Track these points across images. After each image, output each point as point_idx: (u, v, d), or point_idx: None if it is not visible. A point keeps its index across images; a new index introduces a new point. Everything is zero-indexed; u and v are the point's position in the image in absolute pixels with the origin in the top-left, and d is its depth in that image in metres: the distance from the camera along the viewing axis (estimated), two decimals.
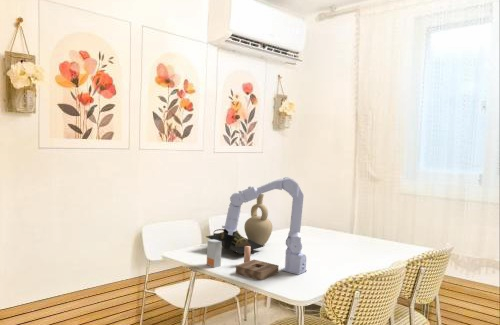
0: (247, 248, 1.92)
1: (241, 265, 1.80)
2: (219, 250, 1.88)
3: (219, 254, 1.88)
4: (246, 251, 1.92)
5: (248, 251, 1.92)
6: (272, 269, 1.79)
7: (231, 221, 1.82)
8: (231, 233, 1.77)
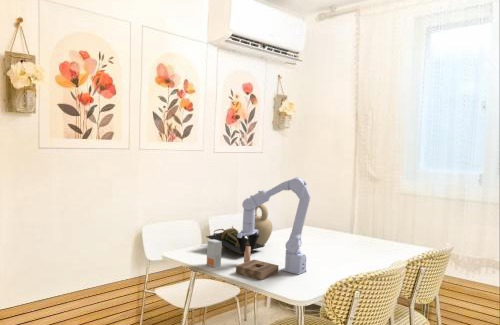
0: (247, 248, 1.92)
1: (241, 265, 1.80)
2: (219, 250, 1.88)
3: (219, 254, 1.88)
4: (246, 251, 1.92)
5: (248, 251, 1.92)
6: (272, 269, 1.79)
7: (244, 225, 1.91)
8: (239, 236, 1.87)
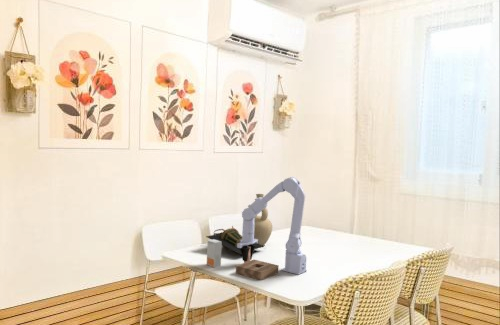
0: None
1: (241, 265, 1.80)
2: (219, 250, 1.88)
3: (219, 254, 1.88)
4: None
5: None
6: (272, 269, 1.79)
7: (244, 235, 1.91)
8: (239, 246, 1.87)
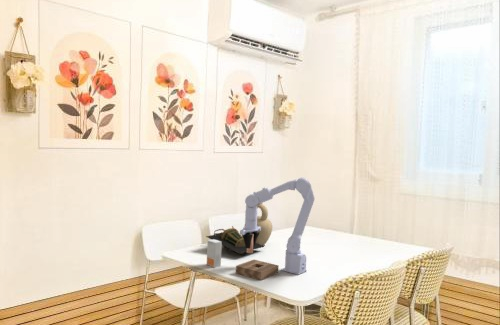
0: None
1: (241, 265, 1.80)
2: (219, 250, 1.88)
3: (219, 254, 1.88)
4: None
5: None
6: (272, 269, 1.79)
7: (246, 222, 1.88)
8: (242, 233, 1.84)
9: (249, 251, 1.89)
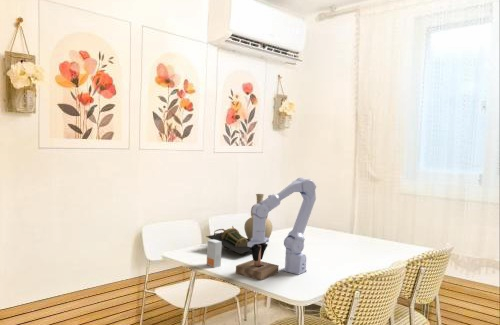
0: None
1: (241, 265, 1.80)
2: (219, 250, 1.88)
3: (219, 254, 1.88)
4: None
5: None
6: (272, 269, 1.79)
7: (254, 233, 1.78)
8: (250, 245, 1.75)
9: (256, 264, 1.80)
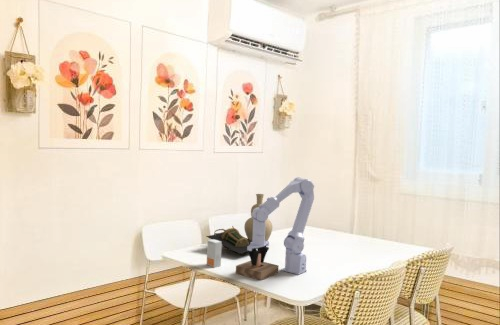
0: None
1: (241, 265, 1.80)
2: (219, 250, 1.88)
3: (219, 254, 1.88)
4: None
5: (258, 258, 1.80)
6: (272, 269, 1.79)
7: (254, 237, 1.79)
8: (249, 249, 1.75)
9: None
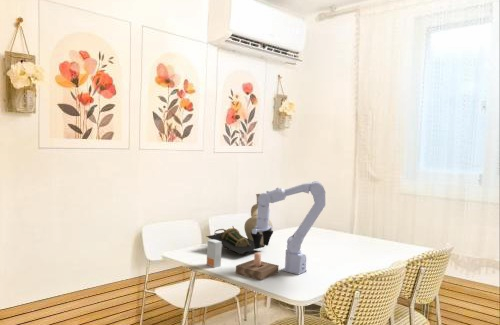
0: (257, 255, 1.80)
1: (241, 265, 1.80)
2: (219, 250, 1.88)
3: (219, 254, 1.88)
4: (256, 258, 1.80)
5: (258, 258, 1.80)
6: (272, 269, 1.79)
7: (258, 220, 1.86)
8: (254, 232, 1.82)
9: None
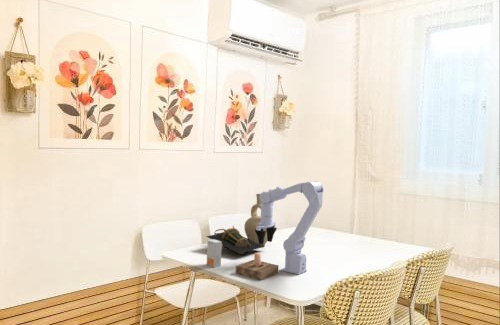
0: (257, 255, 1.80)
1: (241, 265, 1.80)
2: (219, 250, 1.88)
3: (219, 254, 1.88)
4: (256, 258, 1.80)
5: (258, 258, 1.80)
6: (272, 269, 1.79)
7: (262, 218, 1.94)
8: (258, 228, 1.90)
9: None
